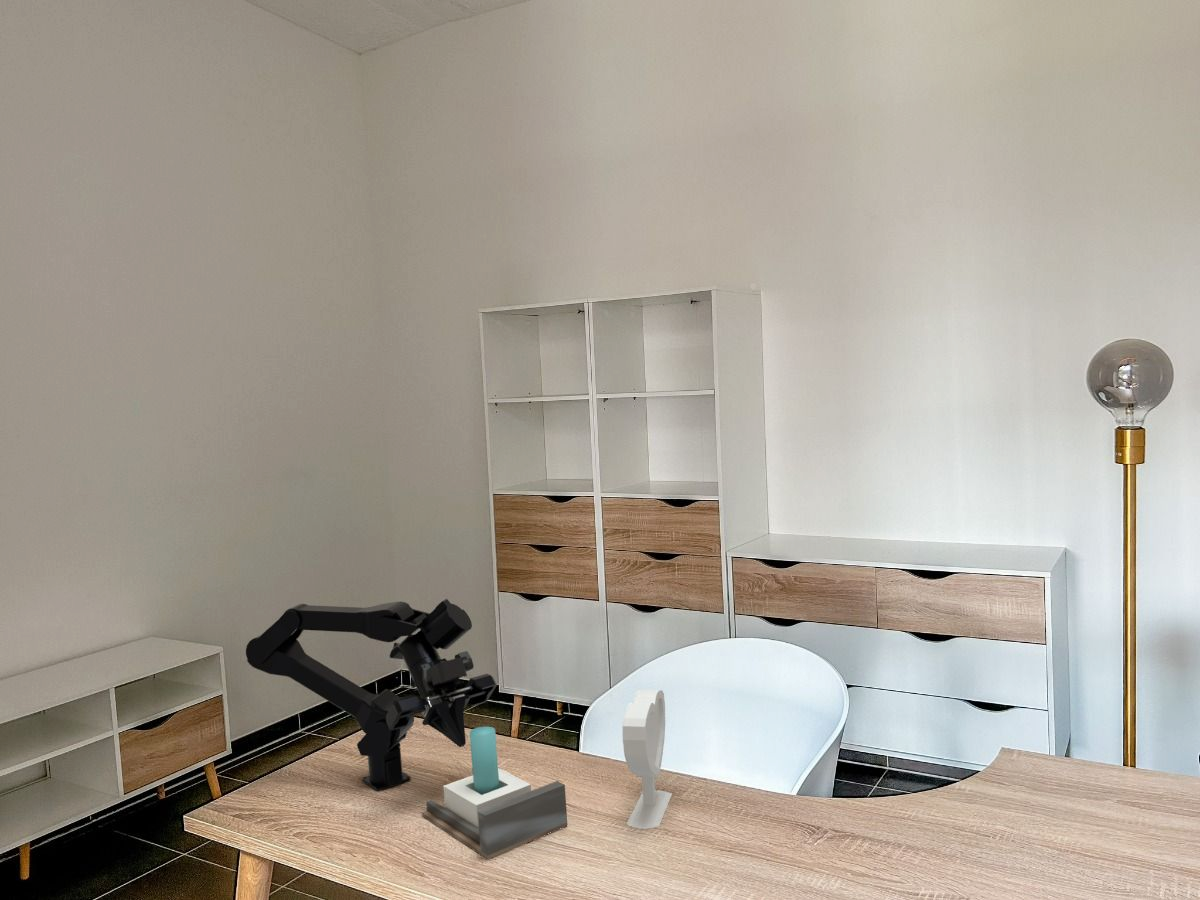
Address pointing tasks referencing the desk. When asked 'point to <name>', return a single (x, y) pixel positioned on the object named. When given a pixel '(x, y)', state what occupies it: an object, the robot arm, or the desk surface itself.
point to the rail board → (506, 820)
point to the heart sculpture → (646, 754)
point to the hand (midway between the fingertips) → (462, 745)
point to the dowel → (484, 759)
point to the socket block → (481, 796)
